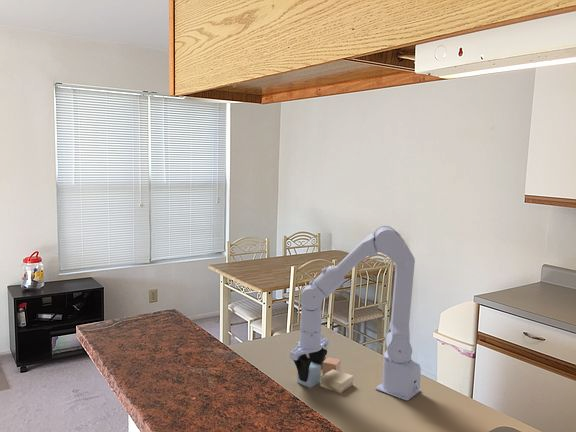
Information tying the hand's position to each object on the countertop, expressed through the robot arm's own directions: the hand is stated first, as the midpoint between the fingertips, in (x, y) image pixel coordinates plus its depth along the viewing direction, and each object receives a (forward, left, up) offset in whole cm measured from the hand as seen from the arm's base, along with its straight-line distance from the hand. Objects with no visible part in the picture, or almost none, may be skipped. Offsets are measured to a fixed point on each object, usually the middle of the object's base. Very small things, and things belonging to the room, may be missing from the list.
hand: (308, 377), depth 133 cm
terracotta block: (-1, -9, -2) cm, 9 cm away
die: (+9, -14, -2) cm, 17 cm away
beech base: (-7, -4, -2) cm, 8 cm away
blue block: (0, 0, -1) cm, 1 cm away
